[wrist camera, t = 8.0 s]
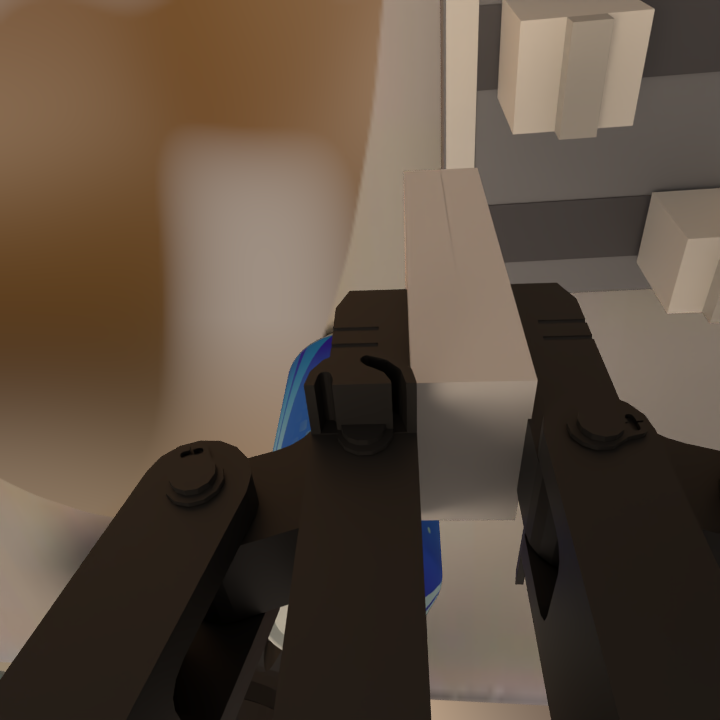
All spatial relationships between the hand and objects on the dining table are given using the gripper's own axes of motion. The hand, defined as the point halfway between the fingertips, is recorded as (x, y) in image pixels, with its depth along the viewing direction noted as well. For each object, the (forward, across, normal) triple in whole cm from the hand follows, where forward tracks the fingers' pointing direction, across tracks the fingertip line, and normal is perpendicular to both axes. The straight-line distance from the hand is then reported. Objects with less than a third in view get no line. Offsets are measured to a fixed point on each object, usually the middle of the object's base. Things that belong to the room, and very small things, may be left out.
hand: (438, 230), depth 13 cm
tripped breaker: (+14, +5, 0) cm, 15 cm away
